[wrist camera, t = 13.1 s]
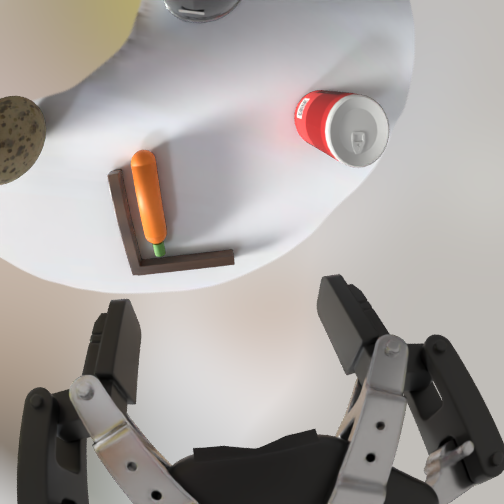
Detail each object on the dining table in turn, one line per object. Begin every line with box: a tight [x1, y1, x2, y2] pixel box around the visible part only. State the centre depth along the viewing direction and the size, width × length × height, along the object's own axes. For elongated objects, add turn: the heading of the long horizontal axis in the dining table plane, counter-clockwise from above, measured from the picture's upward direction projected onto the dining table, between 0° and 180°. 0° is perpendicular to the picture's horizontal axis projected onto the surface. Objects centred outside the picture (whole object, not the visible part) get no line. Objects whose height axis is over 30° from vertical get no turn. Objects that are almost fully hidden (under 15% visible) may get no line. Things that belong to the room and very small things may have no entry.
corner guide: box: [107, 170, 234, 275], centre depth 37 cm, size 16×16×2 cm
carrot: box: [131, 150, 167, 257], centre depth 35 cm, size 15×3×3 cm, turn 1°
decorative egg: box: [0, 96, 46, 185], centre depth 20 cm, size 11×11×15 cm
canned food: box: [294, 90, 389, 168], centre depth 29 cm, size 8×8×11 cm
